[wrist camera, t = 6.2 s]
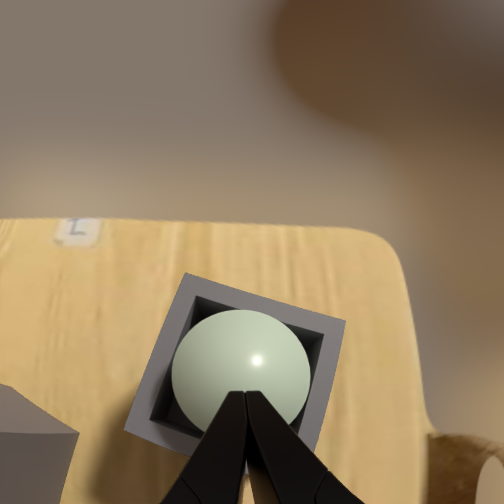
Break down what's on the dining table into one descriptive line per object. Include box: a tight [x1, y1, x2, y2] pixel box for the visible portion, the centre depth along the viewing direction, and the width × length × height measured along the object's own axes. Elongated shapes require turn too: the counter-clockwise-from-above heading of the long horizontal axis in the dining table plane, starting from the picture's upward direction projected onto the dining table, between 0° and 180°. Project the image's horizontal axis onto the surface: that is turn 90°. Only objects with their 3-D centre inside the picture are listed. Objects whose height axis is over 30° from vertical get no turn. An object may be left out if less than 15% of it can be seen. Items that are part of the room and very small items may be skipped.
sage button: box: [172, 310, 310, 432], centre depth 11 cm, size 5×5×2 cm
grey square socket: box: [124, 273, 346, 474], centre depth 15 cm, size 7×7×9 cm
